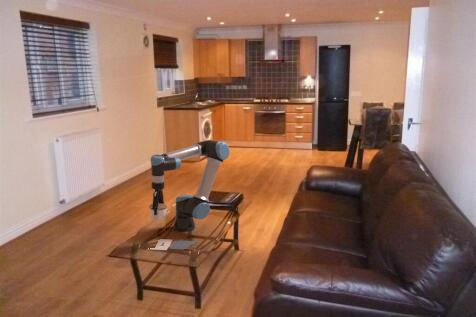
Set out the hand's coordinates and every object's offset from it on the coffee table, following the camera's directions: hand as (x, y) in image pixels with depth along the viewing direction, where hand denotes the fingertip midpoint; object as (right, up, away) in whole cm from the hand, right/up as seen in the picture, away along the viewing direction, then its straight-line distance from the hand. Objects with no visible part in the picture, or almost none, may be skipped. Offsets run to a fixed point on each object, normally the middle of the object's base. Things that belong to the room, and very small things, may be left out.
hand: (158, 216), depth 253 cm
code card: (0, -18, +3) cm, 18 cm away
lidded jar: (0, -1, 0) cm, 1 cm away
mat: (+15, -18, +2) cm, 24 cm away
